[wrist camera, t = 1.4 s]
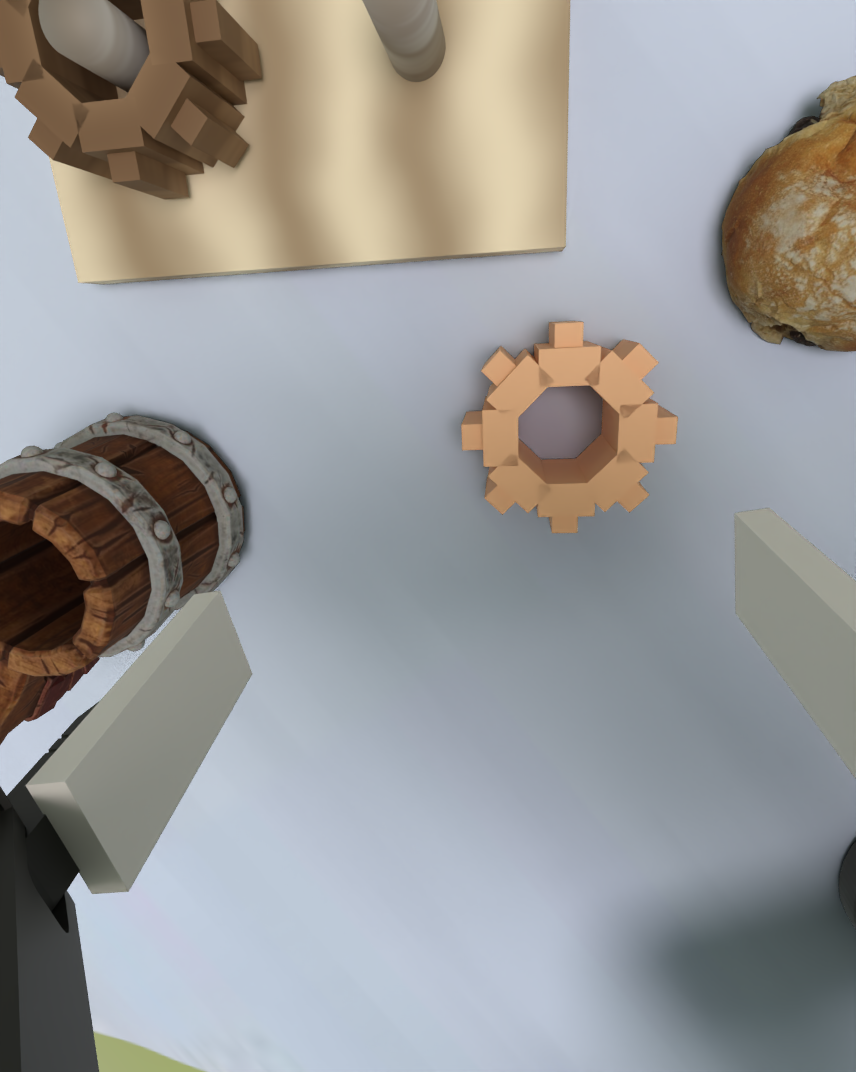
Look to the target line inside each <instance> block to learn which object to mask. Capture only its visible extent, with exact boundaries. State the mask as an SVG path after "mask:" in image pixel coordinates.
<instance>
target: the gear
mask: <svg viewBox="0 0 856 1072" xmlns="http://www.w3.org/2000/svg"><path fill="white" fill-rule="evenodd" d="M658 363H659V362H658V361H657V360H656V359H655V358H654V357H653V356H652V355H651V354H650V353H649V352H648V351H647V350H646V349H645V348H644V347H643V346H642V345H641V344H640V343H637V342H633V341H628V340H624V339H623V340H622V341H621V342H620V343H619V344H618V345H617V346H616V347H615V348H614V349H613V350H610V349H607V348H604V347H601V346H599V345H596V344H593V343H591V342H588V341H583V322H579V321H563V322H549V343H540V344H534V357H533V356H532V355H531V354H530V353H529V352H528V351H527V350H526V349H524V350H523V351H522V352H521V353H520V354H519V355H518V356H517V357H516V358H515V359H514V358H513V357H512V356H511V355H510V354H509V353H508V352H507V351H506V350H505V349H504V348H503V347H502V346H500V347H499V348H498V349H497V350H496V352H495V353H494V354H493V355H492V356H491V357H490V358H489V359H488V360H487V362H486V363H485V364H484V366H483V368H482V370H481V371H482V372H483V373H484V374H485V375H486V376H487V377H488V378H489V379H490V380H491V381H492V382H493V383H492V384H491V386H490V387H489V390H488V394H487V396H486V397H485V401H484V405H483V409H482V411H469V412H466V415H465V417H464V420H463V422H462V424H461V428H462V450H483V462H484V467H489V473H488V477H487V482H486V490H485V499H486V500H487V501H488V502H489V503H490V504H491V505H492V506H494V507H495V508H496V509H497V510H498V511H499V512H500V513H501V514H502V515H503V514H504V513H505V512H506V511H507V510H508V509H509V508H510V507H511V506H512V505H513V504H514V503H515V502H516V503H517V504H518V505H519V506H521V507H522V508H523V509H524V510H525V511H526V512H527V513H529V512H530V511H531V510H532V509H533V508H534V507H535V506H536V507H537V514H538V517H549V521H550V526H551V531H552V533H577V528H578V516H594V514H595V503H596V504H597V505H598V506H599V507H600V508H601V509H602V510H603V511H604V512H606V511H607V510H608V509H609V508H610V507H611V506H612V505H613V504H614V503H616V502H617V501H618V502H619V503H620V504H621V505H622V506H623V507H624V508H625V509H626V510H627V511H628V512H629V513H630V512H631V511H632V510H633V509H634V508H635V507H636V506H638V505H639V504H640V503H641V502H642V501H643V500H644V499H645V498H647V497H648V496H649V494H648V493H647V491H646V490H645V489H644V488H643V486H642V485H641V484H640V482H639V481H640V480H641V479H642V478H643V477H644V476H645V475H647V474H648V473H649V472H648V471H647V470H646V469H645V468H644V467H643V466H642V464H641V463H648V462H654V453H655V444H676V433H677V421H678V417H677V416H675V415H674V414H672V413H670V412H669V411H667V410H666V409H664V408H662V407H661V406H659V405H658V403H656V402H655V401H653V400H651V399H650V398H649V397H650V396H651V395H652V394H653V393H654V392H653V391H652V390H651V389H650V388H649V387H648V386H647V385H646V384H645V383H644V382H643V381H642V380H641V379H642V378H643V377H644V376H645V375H647V374H648V373H649V372H650V371H651V370H652V369H653V368H654V367H655V366H656V365H657V364H658ZM584 385H589V386H590V387H591V388H592V389H593V390H594V391H595V392H596V393H597V394H598V395H599V396H600V397H601V398H602V399H603V405H602V429H601V435H600V436H599V437H598V438H597V439H596V440H594V441H593V442H592V443H591V444H590V445H589V446H588V447H587V448H586V449H585V450H584V451H583V452H582V453H581V454H580V455H579V456H578V457H577V458H576V459H546V460H541V459H540V458H539V457H538V456H537V455H536V454H535V453H534V452H532V451H531V450H530V449H529V448H528V447H527V446H526V445H525V444H524V443H523V442H522V441H521V440H520V439H519V438H518V417H519V416H520V415H521V414H522V413H523V412H524V411H525V410H526V409H527V408H528V407H529V406H530V405H531V404H532V403H533V402H534V401H535V400H536V399H537V398H538V397H539V396H540V395H541V394H542V392H543V391H544V390H545V389H546V388H547V387H561V386H584Z"/></svg>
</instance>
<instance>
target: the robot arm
mask: <svg viewBox="0 0 856 1072" xmlns="http://www.w3.org/2000/svg"><path fill="white" fill-rule="evenodd" d="M734 517H735V612H736V614H737V616H738V617H739V619H740V620H741V621H742V623H743V624H744V625H745V627H746V628H747V630H748V631H749V632H750V634H751V635H752V636H753V638H754V639H755V641H756V642H757V643H758V645H759V646H760V647H761V649H762V650H763V652H764V653H765V654H766V656H767V657H768V659H769V660H770V661H771V663H772V664H773V665H774V667H775V668H776V670H777V671H778V672H779V674H780V675H781V676H782V678H783V679H784V681H785V682H786V683H787V685H788V686H789V687H790V689H791V690H792V692H793V693H794V694H795V696H796V697H797V698H798V700H799V701H800V703H801V704H802V705H803V707H804V708H805V709H806V711H807V712H808V714H809V715H810V716H811V718H812V719H813V721H814V722H815V723H816V725H817V726H818V727H819V729H820V730H821V732H822V733H823V734H824V736H825V737H826V738H827V740H828V741H829V743H830V744H831V745H832V747H833V748H834V749H835V751H836V752H837V754H838V755H839V756H840V758H841V759H842V760H843V762H844V763H845V765H846V766H847V767H848V769H849V770H850V771H851V773H852V774H853V776H854V777H855V778H856V581H855V580H854V579H853V578H851V577H850V576H849V575H848V574H847V573H846V572H844V571H843V570H842V569H841V568H840V567H838V566H837V565H836V564H835V563H834V562H833V561H831V560H830V559H829V558H828V557H827V556H825V555H824V554H823V553H822V552H821V551H820V550H818V549H817V548H816V547H815V546H814V545H812V544H811V543H810V542H809V541H808V540H807V539H805V538H804V537H803V536H802V535H801V534H799V533H798V532H797V531H796V530H795V529H794V528H792V527H791V526H790V525H789V524H788V523H786V522H785V521H784V520H783V519H782V518H781V517H779V516H778V515H777V514H776V513H775V512H773V511H772V510H771V509H770V508H765V509H758V510H751V511H745V512H738V513H734ZM251 675H252V672H251V669H250V667H249V664H248V661H247V659H246V656H245V654H244V651H243V648H242V646H241V643H240V641H239V638H238V635H237V633H236V630H235V628H234V625H233V623H232V620H231V617H230V615H229V612H228V610H227V607H226V604H225V602H224V599H223V597H222V594H221V592H220V591H214V592H207V593H201V594H194V595H193V596H192V597H191V599H190V600H189V601H188V602H187V603H186V604H185V605H184V607H183V608H182V609H181V610H180V611H179V612H178V613H177V614H176V616H175V617H174V618H173V619H172V620H171V621H170V622H169V624H168V625H167V626H166V627H165V628H164V629H163V630H162V631H161V633H160V634H159V635H158V636H157V637H156V638H155V639H154V640H153V642H152V643H151V644H150V645H149V646H148V647H147V648H146V650H145V651H144V652H143V653H142V654H141V655H140V656H139V657H138V659H137V660H136V661H135V662H134V663H133V664H132V665H131V667H130V668H129V669H128V670H127V671H126V672H125V673H124V674H123V676H122V677H121V678H120V679H119V680H118V681H117V682H116V684H115V685H114V686H113V687H112V688H111V689H110V690H109V691H108V693H107V694H106V695H105V696H104V697H103V698H102V699H101V701H100V702H98V703H96V704H95V705H94V706H92V707H91V708H90V709H88V710H87V711H86V712H84V713H83V714H82V715H80V716H79V717H78V718H77V719H76V720H75V721H74V722H73V723H72V724H71V725H70V726H69V728H68V729H67V730H66V731H65V732H64V733H63V734H62V735H61V736H62V738H61V739H58V740H57V741H56V742H55V743H54V744H53V745H52V746H51V748H50V749H49V753H45V754H44V755H43V756H42V758H41V759H40V760H39V761H38V762H37V763H36V764H35V765H34V766H33V768H32V769H31V770H30V771H29V772H28V773H27V774H26V775H25V776H24V778H23V779H22V780H21V781H20V782H19V783H18V784H17V785H16V786H15V788H14V789H13V790H12V791H11V792H10V793H9V794H8V795H7V796H6V795H5V793H4V792H3V790H2V788H1V787H0V1072H99V1069H98V1061H97V1055H96V1047H95V1040H94V1034H93V1027H92V1020H91V1013H90V1006H89V999H88V992H87V985H86V978H85V971H84V965H83V958H82V951H81V944H80V937H79V930H78V923H77V916H76V909H75V904H74V902H73V900H72V898H71V896H70V895H69V893H68V892H67V889H68V887H69V886H70V884H71V883H72V881H73V880H74V878H75V877H76V875H77V874H78V872H79V873H80V875H81V876H82V878H83V880H84V881H85V883H86V885H87V886H88V888H89V889H90V891H91V893H92V894H99V893H114V892H129V890H130V888H131V887H132V885H133V883H134V881H135V879H136V878H137V876H138V874H139V872H140V871H141V869H142V867H143V865H144V864H145V862H146V860H147V858H148V857H149V855H150V853H151V851H152V850H153V848H154V846H155V844H156V843H157V841H158V839H159V837H160V835H161V834H162V832H163V830H164V828H165V827H166V825H167V823H168V821H169V820H170V818H171V816H172V814H173V813H174V811H175V809H176V807H177V806H178V804H179V802H180V800H181V799H182V797H183V795H184V793H185V791H186V790H187V788H188V786H189V784H190V783H191V781H192V779H193V777H194V776H195V774H196V772H197V770H198V769H199V767H200V765H201V763H202V762H203V760H204V758H205V756H206V755H207V753H208V751H209V749H210V747H211V746H212V744H213V742H214V740H215V739H216V737H217V735H218V733H219V732H220V730H221V728H222V726H223V725H224V723H225V721H226V719H227V718H228V716H229V714H230V712H231V711H232V709H233V707H234V705H235V703H236V702H237V700H238V698H239V696H240V695H241V693H242V691H243V689H244V688H245V686H246V684H247V682H248V681H249V679H250V677H251ZM839 893H840V898H841V902H842V905H843V907H844V910H845V912H846V914H847V915H848V917H849V919H850V921H851V923H852V924H853V926H854V928H855V930H856V841H855V843H854V844H853V845H852V847H851V848H850V850H849V852H848V853H847V855H846V857H845V860H844V862H843V865H842V868H841V871H840V877H839Z"/></svg>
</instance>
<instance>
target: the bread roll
mask: <svg viewBox="0 0 856 1072" xmlns="http://www.w3.org/2000/svg"><path fill="white" fill-rule="evenodd" d="M817 99H821V101H820V106H821V107H823V109H822V110H821V113H820V116H819V117H820V118H818V117H815V116H810V117H805V118H802V119H801V120H799V121H798V122H797V123H796V124H795V126H794V127H793V129H792V130H791V131H790V133H789V135H788V137H786V138H784V139H783V141H782V142H780V143H779V144H778V145H775V146H773V147H771V148H768V149H766V150H765V151H764V153H763V154H762V156H761V157H759V158H758V159H757V160H756V162H755V163H754V165H753V166H752V168H751V169H750V171H749V172H748V173H747V175H746V176H745V177H744V178H742V179H741V180H740V181H739V185H738V187H737V189H736V191H735V193H734V195H733V197H732V199H731V201H730V204H729V206H728V208H727V211H726V214H725V217H724V220H723V223H722V231H723V232H722V247H723V250H722V254H721V255H722V256H723V258H724V263H725V268H726V279H727V285H728V289H729V292H730V295H731V299H732V301H733V302H734V303H735V304H736V305H737V307H738V308H739V309H740V310H741V311H742V313H743V314H744V316H745V318H746V319H747V321H748V322H752V324H751V328H752V330H753V331H754V332H755V333H757V334H758V335H759V336H760V337H761V338H762V339H764V340H765V341H767V342H771V343H776V344H780V343H781V341H782V339H783V337H786V338H789V339H792V340H794V341H796V342H797V343H801V344H804V345H806V346H815V345H817V346H819V347H820V348H821V349H825V350H830V351H843V352H848V351H856V76H853V77H850V78H848V79H846V80H843V81H839V82H834V83H832V84H831V85H830V86H829V87H828V88H827V89H826V90H825V91H823V92H822V93H821V94H820V95H819V96H818V98H817ZM849 117H850V118H849Z"/></svg>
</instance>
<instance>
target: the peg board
mask: <svg viewBox="0 0 856 1072" xmlns="http://www.w3.org/2000/svg"><path fill="white" fill-rule="evenodd" d="M569 35H570V0H0V75H1V76H3V77H5V79H6V83H7V84H9V85H11V86H13V87H15V88H18V91H17V93H16V95H15V98H16V99H17V100H18V101H19V102H20V103H21V104H22V105H24V106H25V107H26V108H27V109H28V110H29V111H30V112H31V113H32V114H33V115H35V116H36V117H37V120H36V122H35V124H34V126H33V128H32V130H31V133H30V135H29V137H28V138H29V139H30V140H31V141H32V142H33V143H34V144H36V145H37V146H38V147H39V148H40V149H41V150H42V151H43V152H44V153H46V154H47V155H48V156H49V159H50V163H51V168H52V172H53V176H54V180H55V185H56V189H57V193H58V197H59V202H60V206H61V210H62V214H63V219H64V223H65V227H66V232H67V236H68V240H69V244H70V249H71V253H72V257H73V261H74V266H75V270H76V274H77V278H78V283H91V284H115V283H129V282H142V281H156V280H170V279H183V278H197V277H211V276H225V275H238V274H252V273H266V272H279V271H293V270H307V269H321V268H334V267H348V266H362V265H375V264H389V263H403V262H417V261H430V260H444V259H458V258H472V257H485V256H499V255H513V254H526V253H540V252H554V251H562V250H563V249H564V248H565V247H566V195H567V141H568V88H569Z"/></svg>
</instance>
